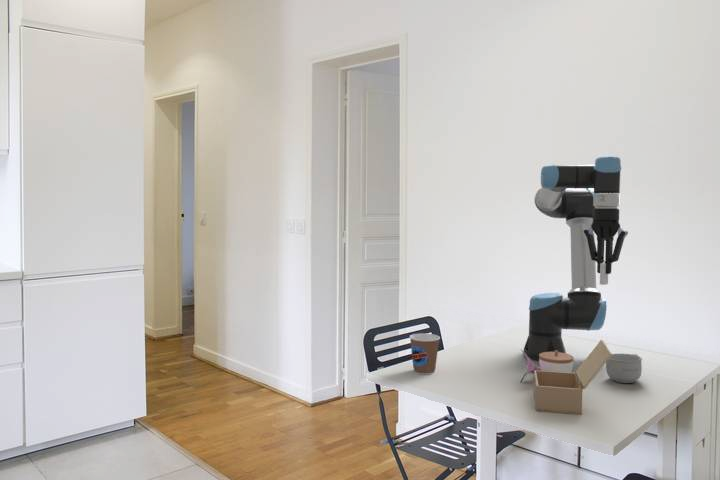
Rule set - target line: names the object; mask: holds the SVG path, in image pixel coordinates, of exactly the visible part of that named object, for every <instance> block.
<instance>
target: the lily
mask: <svg viewBox="0 0 720 480" xmlns="http://www.w3.org/2000/svg"><path fill="white" fill-rule="evenodd" d="M520 351H521V352H522V354H523V356H524V355H525V356H524V357H525V358H526V360H525V361H524V364H525V365H526V372H525V373H524V375H523V376H522V378H521V380H520V382H519V383H521V384H522V382H523V380H524V378H525V376H526V375H527V374H531V375H532V374H533V375H534V370H537V371H542V370H541V369H540V366H539V365H537V364H534V362H533V360H532V359H530V358H529V357H528V356H527V355H526V354H525V353H524V350H522V349H520Z"/></svg>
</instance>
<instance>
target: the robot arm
mask: <svg viewBox="0 0 720 480" xmlns="http://www.w3.org/2000/svg"><path fill="white" fill-rule="evenodd" d="M621 163H622V162H621V158H620V157H618V156H598V157H596V158H595V159H594V163H593V164H586V165H584V164H583V165H582V164H581V165H579V164H578V165H577V164H575V165H571V164H570V165H568V164H566V165H563V164H561V165H558V164H557V165H556V164H552V165H544V166H543V167H541V171H540V186H541V188H540V189H538V190H537V191H536V193H535V194H534V195H535V196H534V205H535V206H536V208H537V210H539V212H540V213H542V214H543V215H545V216H548V217H550V218H554V219H565V224H566V225H567V226H568V227H569V229H570V231H569V232H570V257H571V258H570V262H571V263H570V266H571V267H570V269H571V270H570V271H571V274H570V275H571V289H570V290H569V291H567V297H564V296H563V294H562V293H560V292H559V293H558V292H544V293H540V294H539V293H538V294H535V295H533V296H531V297H530V300H529V306H528V311H529V314H528V315H529V317H528V318H529V319H528V320H529V321H528V336H527V339H526V342H525V345H524V347H523V352H524V353H525V354H526V355H527V356H528V357H529V358H530V359H531V360H535V361H539V354H540V353H543V352H555V350H557V351H558V352H562V353H566V354H567V351H566V348H565V347H566V346H565V344H564V341H563V338H562V334H563V333H562V331H563V330H572V331H573V330H577V331H580V330H581V331H600V330H601V329H602V328H603V326H604V325H605V320H606V317H607V307H608V306H607V300H606V299H605V298H604V297H603V298H602V293H601V292H600V291H599V290H598V289H597V274H599V285H602V286H603V285H604V286H605V285H608V284H609V275H610V274H612V264H613V263H615V262H618V261H619V259H620V255H621V252H622V248H623V245H624V241H625V238H626V237H627V235H628V234H629V232H628V231H627V230H624V229H622V228H621V224H620V209H619V208H618V207H620V205H621V203H620V200H621V198H620V197H621V193H620V192H621V175H622V173H621V170H622V166H621V165H622V164H621ZM616 234H617V238H616V241H615V244H613V243H614V238H615V236H616ZM595 235H596V239H595ZM595 241H597V245H596V242H595ZM613 246H614V248H613ZM596 263H597V265H596ZM596 272H597V273H596ZM523 356H524V357H525V355H524V354H523Z"/></svg>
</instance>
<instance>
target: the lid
mask: <svg viewBox="0 0 720 480" xmlns="http://www.w3.org/2000/svg"><path fill="white" fill-rule="evenodd" d="M612 354H613V353H612V352H611V351H610V350H609V347H608V346H607V345H606V343H605V341H603V339H600V341H598V343H597V344H596V345H595V347H594V348H593V349H592V351H591V352H590V353H589V354H588V356H587V357H586V358H585V359H584V361H583V362H582V363H581V365H580V366H579V368H577V370H575V371H574V373H576V375H577V378H578V381H579V383H580V386H581V388H582V389H583V390H586V389H587V387H588V386H589V385H590V383H592V381H593V380H594V378H595V377H596V376H597V374H599V372H600V371H601V370H602V369H603V367H604V365H606V362H607V361H608V359H609V358H610V357H611V356H612Z"/></svg>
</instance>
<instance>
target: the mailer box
mask: <svg viewBox="0 0 720 480" xmlns="http://www.w3.org/2000/svg"><path fill="white" fill-rule="evenodd" d="M583 390H584V389H582V388H581V386H580V383H579V381H578V378H577V375H576V373H575V372H571V373H568V372H553V371H537V370H534V374H533V396H534V397H533V398H534V404H535V411H536V412H545V413H556V414H557V413H558V414H567V415H569V414H571V415H583V392H584V391H583Z"/></svg>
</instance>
